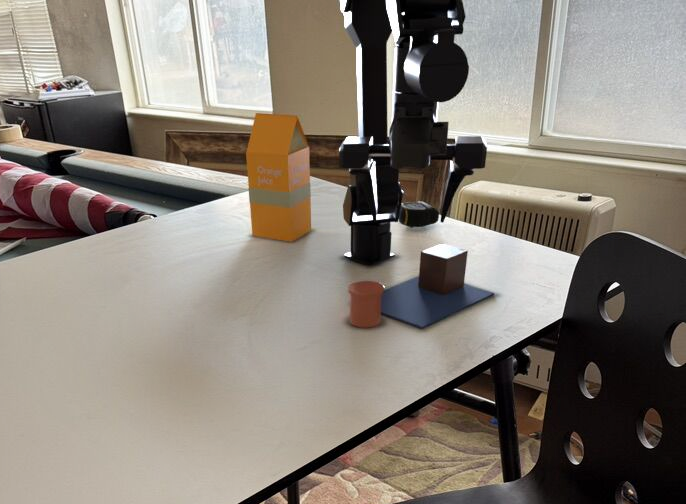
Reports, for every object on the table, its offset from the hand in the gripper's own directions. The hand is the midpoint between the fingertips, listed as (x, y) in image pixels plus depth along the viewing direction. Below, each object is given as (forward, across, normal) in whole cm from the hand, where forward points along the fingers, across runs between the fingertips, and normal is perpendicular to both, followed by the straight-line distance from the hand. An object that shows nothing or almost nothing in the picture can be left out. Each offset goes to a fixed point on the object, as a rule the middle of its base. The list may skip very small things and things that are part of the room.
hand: (408, 221), depth 96 cm
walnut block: (+12, +5, +7) cm, 15 cm away
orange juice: (+12, -25, +33) cm, 43 cm away
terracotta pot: (+12, -5, -6) cm, 15 cm away
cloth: (+12, +3, +2) cm, 13 cm away
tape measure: (+12, +1, +40) cm, 42 cm away
